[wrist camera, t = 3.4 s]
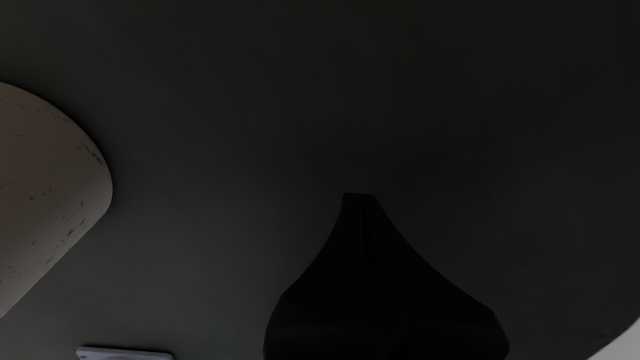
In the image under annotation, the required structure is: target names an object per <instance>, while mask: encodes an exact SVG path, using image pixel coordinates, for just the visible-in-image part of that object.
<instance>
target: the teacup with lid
mask: <svg viewBox="0 0 640 360" xmlns="http://www.w3.org/2000/svg"><path fill="white" fill-rule="evenodd" d="M112 193H113V185H112V179H111V175H110V172H109V169H108V166H107V164H106V162H105V160H104V158H103V156H102V154H101V153H100V151H99V149H98V148H97V147H96V145H95V144H94V143H93V141H92V140H91V139H90V138H89V136H88V135H87V134H86V133H85V132H84V131H83V130H82V129H81V128H80V127H79V126H78V125H77V124H76V123H75V122H74V121H73V120H71V119H70V118H69V117H68V116H66V115H65V114H64V113H63V112H61V111H60V110H58V109H57V108H56V107H54V106H53V105H51V104H49V103H48V102H46V101H45V100H43V99H41V98H39V97H37V96H36V95H34V94H31V93H29V92H27V91H25V90H23V89H20V88H18V87H15V86H13V85H9V84H6V83H3V82H0V319H1V318H2V317H3V316H4V315H5V314H6V313H7V312H8V311H9V310H10V309H11V308H12V307H13V306H14V305H15V304H16V303H17V302H18V301H19V300H20V299H21V298H22V297H23V296H24V295H25V294H26V293H27V292H28V291H29V290H30V289H31V288H32V287H33V286H34V285H35V284H36V283H37V282H38V281H39V280H40V279H41V278H42V277H43V276H44V275H45V274H46V273H47V272H48V271H49V270H50V269H51V268H52V267H53V266H54V265H55V264H56V263H57V262H58V261H59V260H60V259H61V258H62V257H63V256H64V255H65V254H66V253H67V252H68V251H69V250H70V248H71V247H72V246H73V245H74V244H75V243H76V242H77V241H78V240H79V239H80V238H81V237H82V236H83V235H84V234H85V233H86V232H87V231H88V230H89V229H90V228H91V227H92V226H93V225H94V224H95V223H96V222H97V221H98V220H99V219H100V218H101V217H102V216H103V215H104V214H105V212H106V211H107V209H108V208H109V205H110V203H111V199H112Z"/></svg>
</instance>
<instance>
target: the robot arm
mask: <svg viewBox="0 0 640 360" xmlns="http://www.w3.org/2000/svg"><path fill="white" fill-rule="evenodd" d="M509 350H510V343H509V341H508V339H507V337H506V335H505V333H504V330H503V328H502V326H501V324H500V322H499V321H498V319H497V317H496V316H495V314H494V312H493V310H491V309H489V308H488V307H486V306H485V305H483V304H482V303H480V302H479V301H477V300H475V299H474V298H472V297H471V296H469V295H468V294H466V293H465V292H463V291H462V290H461V289H459V288H458V287H457V286H455V285H454V284H453V283H451V282H450V281H449V280H447V279H446V278H445V277H444V276H442V275H441V274H440V273H439V272H438V271H436V270H435V269H434V268H433V267H432V266H431V265H429V264H428V263H427V262H426V261H425V260H424V259H423V258H422V257H421V256H420V255H419V254H418V253H417V252H416V251H415V250H414V249H413V248H412V247H411V246H410V244H409V243H408V242H407V241H406V240H405V239H404V237H403V236H402V235H401V234H400V232H399V231H398V230H397V228H396V227H395V226H394V224H393V223H392V222H391V220H390V219H389V217H388V216H387V214H386V213H385V211H384V210H383V208H382V207H381V205H380V204H379V202H378V200H377V199H376V197H375V196H374V195H369V194H357V193H344V194H343V197H342V204H341V210H340V213H339V216H338V219H337V221H336V223H335V226H334V228H333V230H332V232H331V234H330V236H329V238H328V239H327V241H326V243H325V244H324V246H323V248H322V249H321V251H320V252H319V253H318V255H317V256H316V258H315V259H314V261H313V262H312V263H311V264H310V266H309V267H308V268H307V269H306V270H305V271H304V273H303V274H302V275H301V276H300V277H299V278H298V279H297V280H296V281H295V282H294V283H293V284H292V285H291V286H290V287H289V288H288V289H287V290H286V291H285V292H284V293H283V294H282V296H281V298H280V300H279V301H278V303H277V305H276V307H275V309H274V311H273V313H272V315H271V318H270V320H269V323H268V326H267V329H266V334H265V339H264V345H263V358H264V360H504V359H505V358H506V356H507V354H508V352H509ZM76 354H77V355H78V357H79V358H80V359H81V360H174V359H173V357H172V355H170V354H168V353H158V352H145V351H133V350H120V349H107V348H94V347H79V348H78V350H77V351H76Z"/></svg>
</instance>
